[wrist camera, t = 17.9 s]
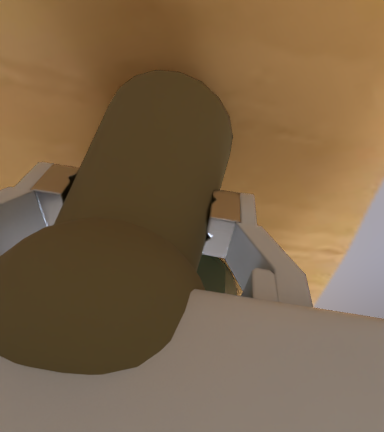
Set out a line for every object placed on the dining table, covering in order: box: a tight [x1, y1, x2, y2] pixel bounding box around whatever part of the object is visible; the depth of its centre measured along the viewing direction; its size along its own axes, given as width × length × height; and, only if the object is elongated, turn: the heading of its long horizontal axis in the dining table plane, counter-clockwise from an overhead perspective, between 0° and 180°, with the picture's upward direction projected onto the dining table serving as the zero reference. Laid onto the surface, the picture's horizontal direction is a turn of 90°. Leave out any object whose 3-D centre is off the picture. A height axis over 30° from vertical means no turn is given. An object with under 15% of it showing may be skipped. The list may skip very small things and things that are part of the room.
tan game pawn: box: [0, 70, 233, 375], centre depth 9 cm, size 6×6×11 cm
